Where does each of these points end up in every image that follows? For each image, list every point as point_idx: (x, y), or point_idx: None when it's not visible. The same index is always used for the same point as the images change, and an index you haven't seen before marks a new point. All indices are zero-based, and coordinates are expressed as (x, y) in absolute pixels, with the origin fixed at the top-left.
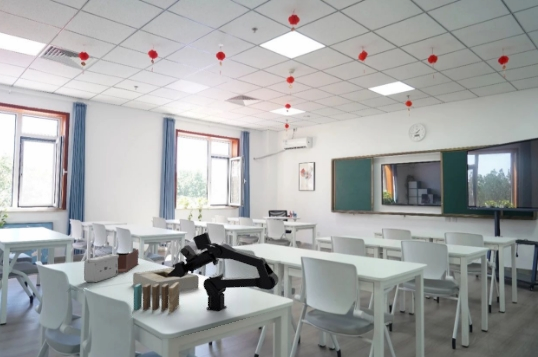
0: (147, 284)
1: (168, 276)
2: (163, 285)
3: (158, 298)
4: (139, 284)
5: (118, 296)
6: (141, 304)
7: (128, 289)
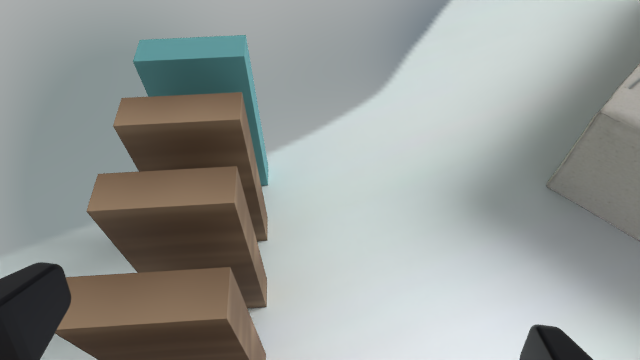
0: (207, 104)
1: (50, 303)
2: (123, 283)
3: None
4: (217, 50)
5: (454, 16)
6: (263, 176)
7: (597, 6)
